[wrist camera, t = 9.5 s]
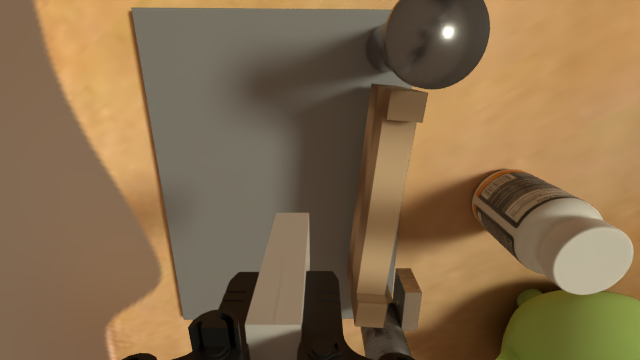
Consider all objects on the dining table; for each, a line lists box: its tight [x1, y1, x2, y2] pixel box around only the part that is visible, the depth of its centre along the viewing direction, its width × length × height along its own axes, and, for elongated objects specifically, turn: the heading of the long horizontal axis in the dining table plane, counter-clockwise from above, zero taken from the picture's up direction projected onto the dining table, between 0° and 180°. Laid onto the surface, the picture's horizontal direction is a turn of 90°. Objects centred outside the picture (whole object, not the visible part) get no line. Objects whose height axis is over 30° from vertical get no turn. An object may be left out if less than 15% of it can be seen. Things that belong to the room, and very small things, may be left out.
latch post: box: [361, 268, 422, 360], centre depth 26 cm, size 6×5×11 cm
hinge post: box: [366, 0, 490, 89], centre depth 19 cm, size 4×4×11 cm
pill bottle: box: [472, 169, 633, 295], centre depth 24 cm, size 6×6×10 cm
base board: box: [131, 8, 412, 320], centre depth 27 cm, size 27×20×1 cm
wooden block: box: [346, 83, 428, 328], centre depth 23 cm, size 16×2×6 cm, turn 175°
